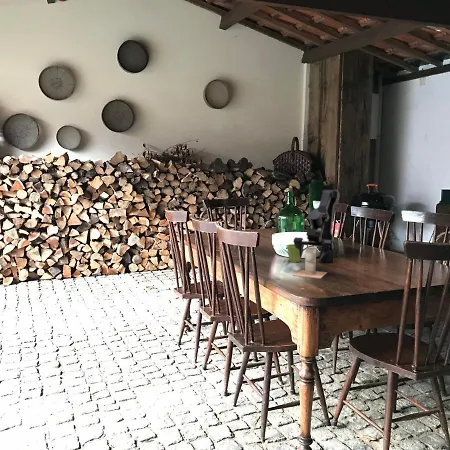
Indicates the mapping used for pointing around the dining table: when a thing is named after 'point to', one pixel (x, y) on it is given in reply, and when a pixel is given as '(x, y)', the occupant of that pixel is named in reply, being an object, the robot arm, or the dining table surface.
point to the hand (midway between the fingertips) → (309, 258)
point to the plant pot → (293, 253)
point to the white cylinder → (310, 261)
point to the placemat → (317, 275)
